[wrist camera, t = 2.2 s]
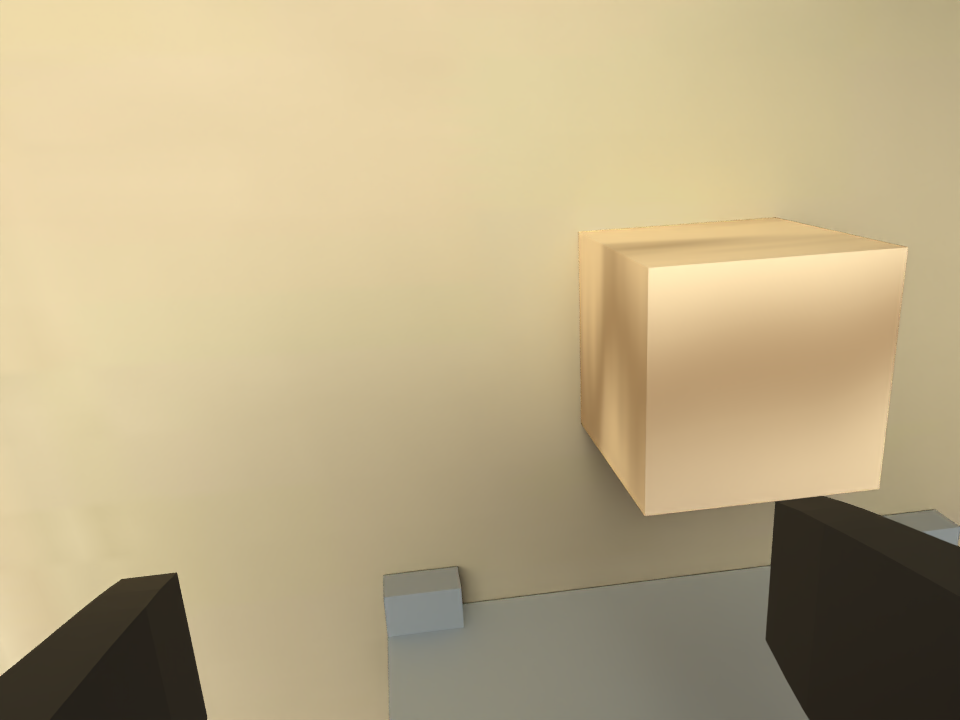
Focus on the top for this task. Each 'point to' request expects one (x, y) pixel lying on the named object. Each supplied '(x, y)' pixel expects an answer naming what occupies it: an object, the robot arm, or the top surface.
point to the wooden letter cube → (737, 359)
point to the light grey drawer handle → (593, 648)
